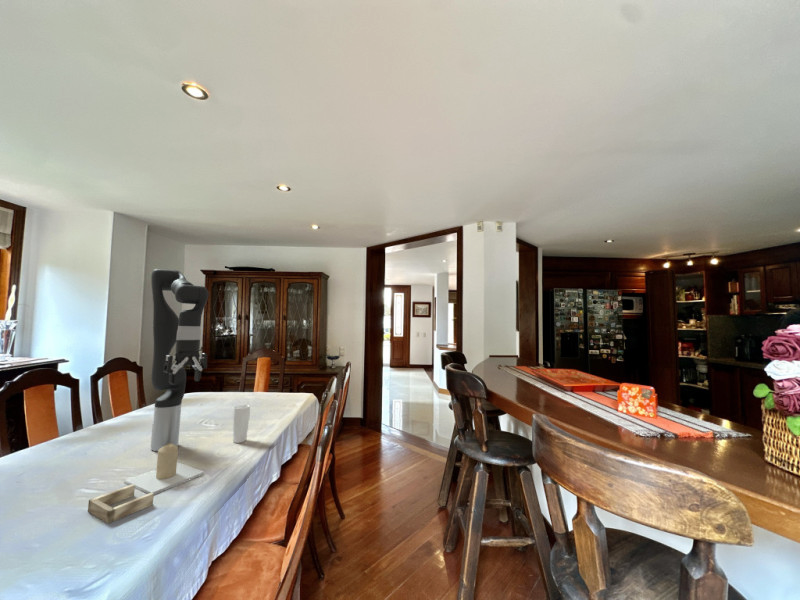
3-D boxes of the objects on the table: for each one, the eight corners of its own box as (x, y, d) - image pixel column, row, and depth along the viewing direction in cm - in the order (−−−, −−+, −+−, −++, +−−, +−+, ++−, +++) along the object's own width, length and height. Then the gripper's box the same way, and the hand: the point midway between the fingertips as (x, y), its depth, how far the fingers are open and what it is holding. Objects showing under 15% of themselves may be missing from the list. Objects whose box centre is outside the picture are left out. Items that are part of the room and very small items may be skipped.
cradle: (108, 523, 83) (109, 511, 83) (87, 511, 88) (88, 499, 89) (152, 504, 92) (153, 493, 93) (131, 494, 97) (132, 484, 98)
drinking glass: (241, 444, 139) (243, 409, 140) (227, 443, 140) (230, 408, 142) (251, 439, 146) (253, 405, 147) (238, 437, 147) (240, 404, 148)
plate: (124, 482, 104) (124, 480, 104) (176, 464, 118) (176, 462, 119) (151, 495, 97) (151, 492, 97) (203, 474, 111) (204, 471, 111)
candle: (162, 471, 111) (165, 441, 111) (179, 471, 111) (181, 441, 112) (151, 479, 105) (154, 447, 106) (169, 479, 106) (171, 447, 106)
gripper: (201, 337, 128) (198, 379, 127) (161, 338, 115) (157, 384, 114) (213, 338, 125) (210, 381, 123) (174, 339, 112) (170, 386, 111)
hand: (185, 382), depth 119 cm, fingers open, 8 cm apart
